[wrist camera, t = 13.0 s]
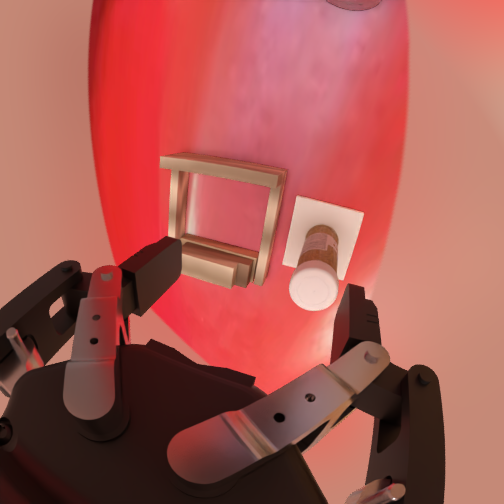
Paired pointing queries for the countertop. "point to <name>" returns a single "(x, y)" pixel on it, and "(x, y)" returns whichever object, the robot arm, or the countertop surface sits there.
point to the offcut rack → (213, 252)
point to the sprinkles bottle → (316, 270)
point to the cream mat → (323, 214)
